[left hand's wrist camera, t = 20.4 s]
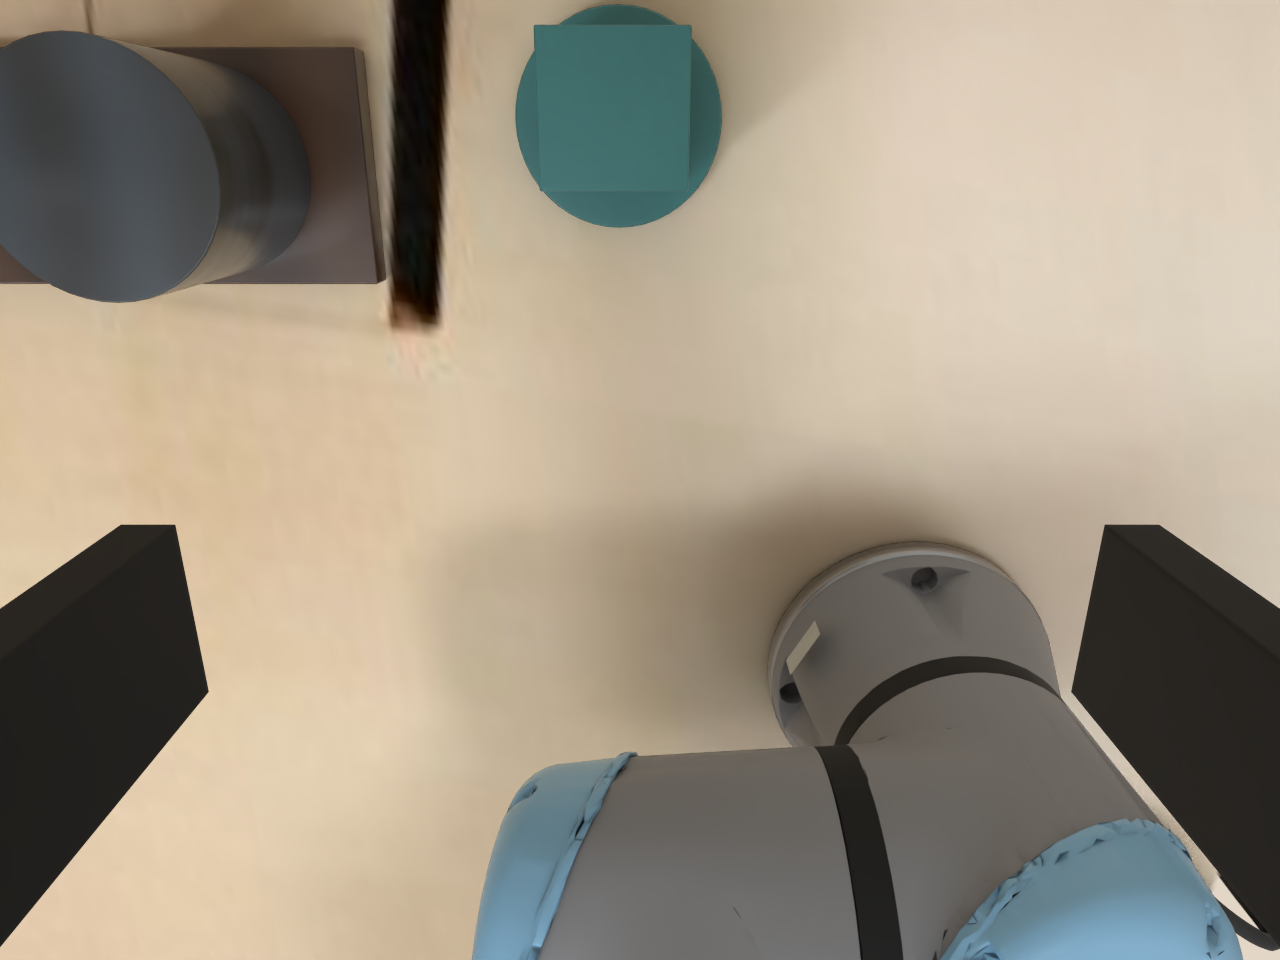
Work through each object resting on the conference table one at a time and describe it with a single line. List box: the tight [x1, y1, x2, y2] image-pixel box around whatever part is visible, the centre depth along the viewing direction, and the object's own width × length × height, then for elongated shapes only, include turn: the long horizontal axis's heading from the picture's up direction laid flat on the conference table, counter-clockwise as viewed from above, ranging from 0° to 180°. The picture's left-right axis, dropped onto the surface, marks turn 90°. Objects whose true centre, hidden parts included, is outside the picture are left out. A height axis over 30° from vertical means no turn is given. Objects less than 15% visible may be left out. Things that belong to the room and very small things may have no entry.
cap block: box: [516, 4, 722, 228], centre depth 35 cm, size 9×9×9 cm
